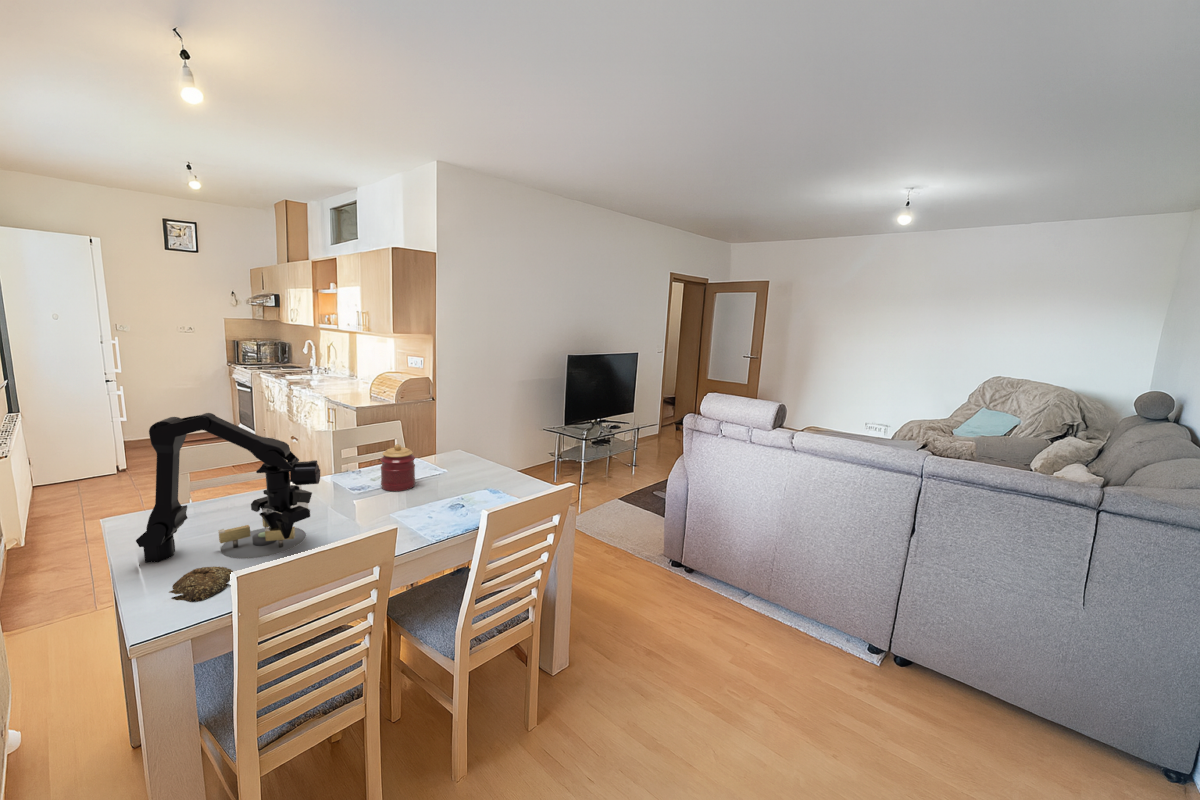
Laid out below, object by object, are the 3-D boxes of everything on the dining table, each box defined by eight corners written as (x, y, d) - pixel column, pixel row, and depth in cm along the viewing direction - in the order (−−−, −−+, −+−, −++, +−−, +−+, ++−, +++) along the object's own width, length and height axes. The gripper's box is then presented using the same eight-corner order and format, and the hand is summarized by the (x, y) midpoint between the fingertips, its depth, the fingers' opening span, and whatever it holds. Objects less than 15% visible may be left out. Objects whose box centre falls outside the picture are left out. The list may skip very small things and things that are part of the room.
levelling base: (285, 562, 137) (284, 550, 136) (203, 563, 134) (202, 550, 133) (318, 529, 157) (317, 519, 157) (247, 530, 154) (246, 519, 154)
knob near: (294, 546, 143) (293, 527, 142) (266, 549, 141) (264, 530, 140) (295, 544, 145) (294, 525, 144) (268, 546, 142) (266, 527, 141)
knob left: (251, 544, 143) (249, 525, 142) (221, 551, 138) (219, 532, 137) (249, 542, 144) (248, 523, 143) (219, 549, 139) (218, 530, 138)
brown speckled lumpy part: (245, 577, 129) (243, 560, 128) (204, 604, 116) (202, 585, 116) (198, 573, 129) (197, 556, 128) (153, 600, 117) (151, 580, 116)
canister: (383, 481, 204) (382, 440, 201) (416, 480, 208) (415, 439, 205) (379, 492, 191) (378, 449, 189) (414, 490, 195) (413, 448, 192)
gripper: (326, 483, 143) (329, 533, 146) (286, 472, 151) (290, 519, 154) (287, 495, 133) (291, 549, 136) (247, 482, 141) (252, 533, 144)
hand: (282, 536), depth 142 cm, fingers closed on knob near, 4 cm apart
